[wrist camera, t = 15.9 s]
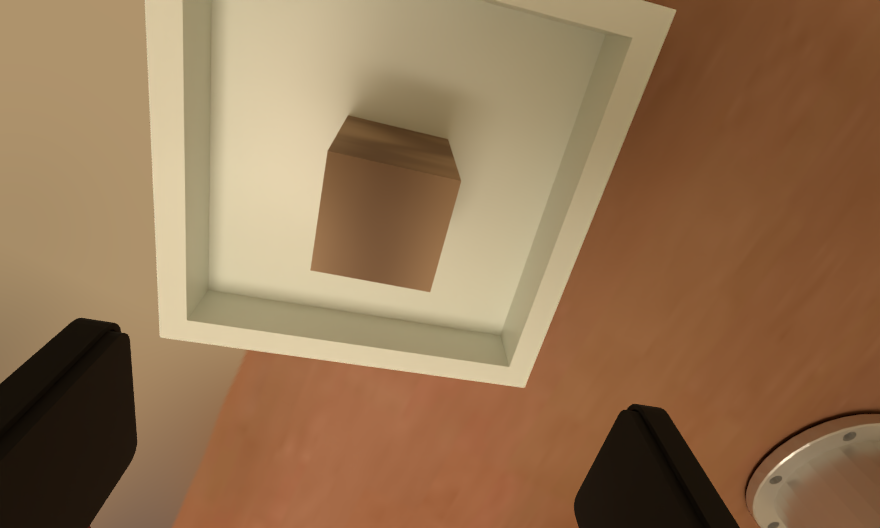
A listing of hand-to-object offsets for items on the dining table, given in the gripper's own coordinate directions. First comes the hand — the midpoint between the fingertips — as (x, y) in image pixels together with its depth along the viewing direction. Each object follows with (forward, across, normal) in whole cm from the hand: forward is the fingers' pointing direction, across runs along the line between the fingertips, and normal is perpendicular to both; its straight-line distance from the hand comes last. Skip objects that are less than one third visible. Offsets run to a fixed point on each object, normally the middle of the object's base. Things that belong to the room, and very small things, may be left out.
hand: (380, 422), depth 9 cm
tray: (+16, +1, 0) cm, 16 cm away
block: (+15, +1, 0) cm, 15 cm away
